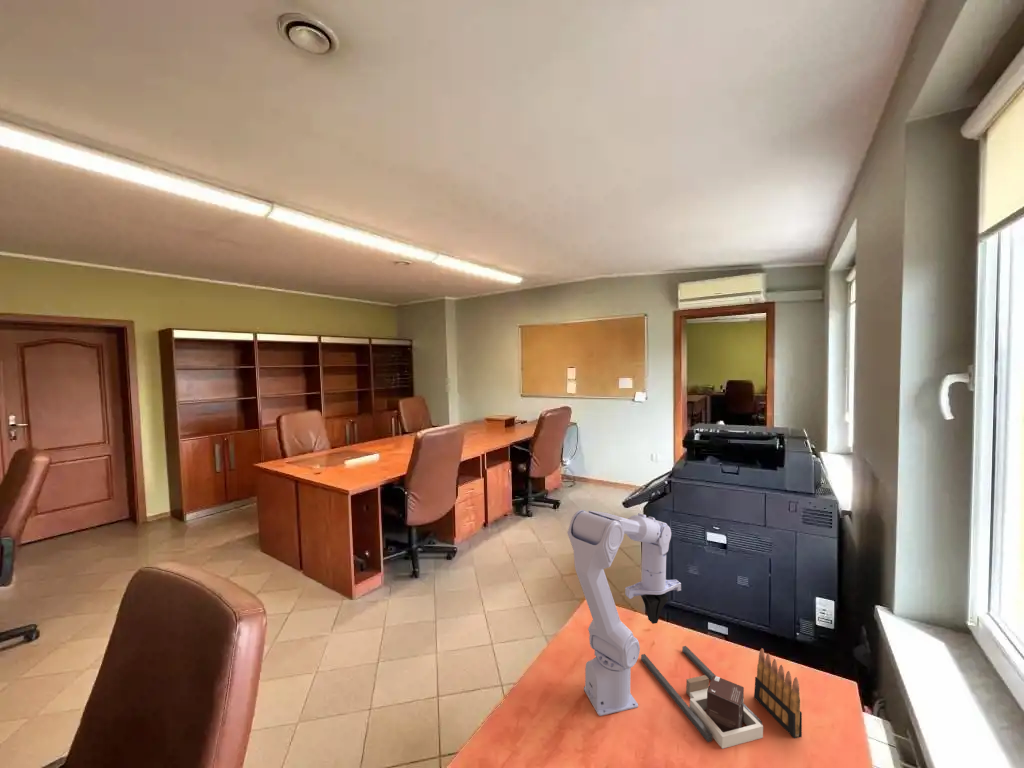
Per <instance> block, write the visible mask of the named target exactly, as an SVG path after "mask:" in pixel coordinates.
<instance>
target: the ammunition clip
mask: <svg viewBox="0 0 1024 768" xmlns="http://www.w3.org/2000/svg"><path fill="white" fill-rule="evenodd" d="M758 653H759V654H758V661H757V662H758V663H757V666H756V667H757V668H756V676H755V677H754V678H755V679H754V692H753V698H754V699H755V700H756V701H757V702H758V703H759V704H760V705H761V706H762V707H763V708H764V709H765V710H766V711H767V713H768V714H770V715H771V716H772V718H774V720H776V721H777V722H778V724H779V725H780V726H782V728H783V729H784V730H785V731H787V733H788V734H789V735H790V736H791V737H792V738H793V739H799V738H802V736H803V735H802V733H803V732H802V731H803V728H802V727H803V720H802V719H803V718H802V717H803V712H802V711H801V698H800V683H799V679H798V677H796V676H795V677H794V679H793V680H792V675H791V672H790V670H788V671H786V674H785V669H784V666H783V664H780V666H779V667H778V663H777V662H778V661H777V660H776V658H774V659H773V660H771V656H770V653H769V652H768V653H767V654H766V656H765V650H764V648H762V647H761V649H760V650H759V652H758Z"/></svg>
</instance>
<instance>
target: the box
mask: <svg viewBox="0 0 1024 768" xmlns="http://www.w3.org/2000/svg"><path fill="white" fill-rule="evenodd" d="M744 689H745V688H744V686H742V685H739V684H737V683H735V682H732V681H730V680H727V679H725V678H722V677H720V676H717V675H716V676H714V675H713V677H712V680H710V681H709V688H708V690H707V709H706V714H707V715H708V716H709V717H710V718H711V719H712V720H713V722H714V723H715V724H716V725H717V726H718V727H719V728H720V730H721V731H722V732H727V731H731V730H734V729H739V728H742V726H743V723H744V722H743V703H744V700H745V699H744V691H745V690H744Z"/></svg>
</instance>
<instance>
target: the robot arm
mask: <svg viewBox="0 0 1024 768" xmlns="http://www.w3.org/2000/svg"><path fill="white" fill-rule="evenodd" d="M567 529H568V530H567V533H566V534H567V536H568V539H569V541H570V544H571V547H572V551H573V559H574V570H575V573H576V576H577V579H578V581H579V583H580V586H581V589H582V592H583V595H584V598H585V600H586V603H587V606H588V609H589V611H590V615H591V617H592V620H591V622H590V624H589V626H588V628H587V630H588V634H589V637H588V638H589V645H590V648H591V649H592V650H594V656H595V657H594V658H592V659H590V660H588V661H586V663H585V667H584V668H585V673H584V674H585V678H584V679H585V680H584V682H585V683H584V684H585V686H584V687H583V690H584V692H585V694H586V696H587V697H588V699H589V702H590V703H591V704H592V706H593V709H594V710H595V712H596V713H597V715H598V717H599V716H600V717H602V716H607V715H610V714H614V713H618V712H623V711H628V710H632V709H637V708H638V707H639V704H638V702H637V700H636V699H635V698H634V696H633V695H632V693H631V670H632V669H631V668H633V667H634V666H635V665H636V663H637V661H638V659H639V656H640V653H641V652H640V649H641V647H640V642H639V640H638V638H637V637H635V636H634V633H633V631H632V630H631V629H629V627H627V625H626V624H625V623H624V622H622V620H621V619H620V615H619V612H618V609H617V606H616V603H615V600H614V597H613V594H612V591H611V588H610V584H609V582H608V579H607V576H606V573H605V570H604V569H607V568H610V567H611V566H612V563H613V562H614V559H615V557H616V556H617V553H618V552H619V551H618V550H619V549H620V546H621V544H622V542H623V541H624V537H625V535H626V536H627V537H628V538H629V540H632V541H634V542H640V543H641V581H639V582H636V583H635V584H632V585H629V586H625V587H624V588H625V589H624V591H625V592H624V594H625V596H626V597H627V598H628V599H633V598H634V597H638V596H640V597H641V599H642V602H643V604H644V607H645V611H646V613H647V614H646V615H647V620H648V621H649V622H650V623H651V624H653V625H654V624H658V621H659V619H660V616H661V612H662V610H663V609H664V606H665V605H666V604H667V602H669V601H668V600H669V599H668V597H669V596H668V595H666V593H668V592H670V591H676V592H679V591H681V592H682V583H681V582H680V581H679V580H678V579H667V553H668V552H669V548H670V541H671V539H672V530H671V527H670V526H669V525H668V523H666V522H663V521H660V520H656V518H655V517H653V516H648V517H647V515H646V514H643V513H641V512H639V513H638V514H637V515H635V514H633V515H631V516H629V517H628V518H626V517H622V516H620V515H616V514H612V513H608V512H603V511H597V510H588V511H587V510H584V509H579V510H577V511H576V512H574V514H573V516H572V517H571V519H570V523H569V526H568V528H567Z"/></svg>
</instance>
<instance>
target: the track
mask: <svg viewBox="0 0 1024 768" xmlns="http://www.w3.org/2000/svg"><path fill="white" fill-rule="evenodd" d="M682 653H683V654H684V655H685V656H686V657H687V658H688V659H689V660H690V661H691V662H692V664H694V665H695V667H696V668H698V669H699V670H700V672H702V674H704V675H706V676H707V677H708V678H709V681H711V680H712V677H713V675H714V676H717V675H716V674H715V673H714V672H713V671H712V670H711V669H710V668H709V667H707V665H706V664H705V663H704V662H703V661H701V660H700V659H699V657H698V656H696V654H695V653H694V652H692V650H691V649H690V648H689V647H688V646H687V645H683V646H682ZM640 660H641V662H642V663H643V665H645V667H646V668H647V669H648V670H649V671H650V673H651V674H652V675H653V677H654V678H655V680H657V682H659V684H660V685H661V686H662V688H664V690H665V691H666V692H667V694H668V696H670V698H671V699H672V700H673V701H674V702H675V704H676V705H677V706H678V708H680V710H681V712H683V714H684V715H685V716H686V718H687V719H688V720H689V721H690V723H691V724H692V725H693V726H694V727H695V729H696V730H697V732H699V733H700V735H701V736H702V737H703V739H704V740H705V741H706V742H707V743H711V742H713V737H712V734H711V733H710V731H709V730H708V729H707V728H706V727H705V725H704V724H703V723H702V722H701V721H700V719H699V718H698V717H697V716H696V715H695V713H694V712H693V711H692V710H691V709H690V705H688V704H687V703H686V702H685V700H684V699H683V698H682V697H681V695H680V694H679V693H678V692H677V690H676V689H675V688H674V687H673V686H672V685H671V683H670V682H669V681H668V680H667V679H666V678H665V676H664V675H663V674H662V673H661V671H660V670H659V669H658V668H657V667H656V665H655V664H654V663H653V661H652V660H651V659H650V658H649V657H648V656H647V655H646V653H642V654H640ZM743 706H744V707H745V708H746V709H747V710H748V711H749V712H750V713H751V714H752V715H753V716H754V717H755V718H756V719H757V720H758V721H759V722H760V723H761V724H762V725H763V721H762V720H761V719H760V718H759V717H758V716H757V715H756V714H755V713H754V712H753V711H752V710H751V709H750V708H749V707H748V706H747V705H746V704H745V703H744V702H743Z"/></svg>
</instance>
